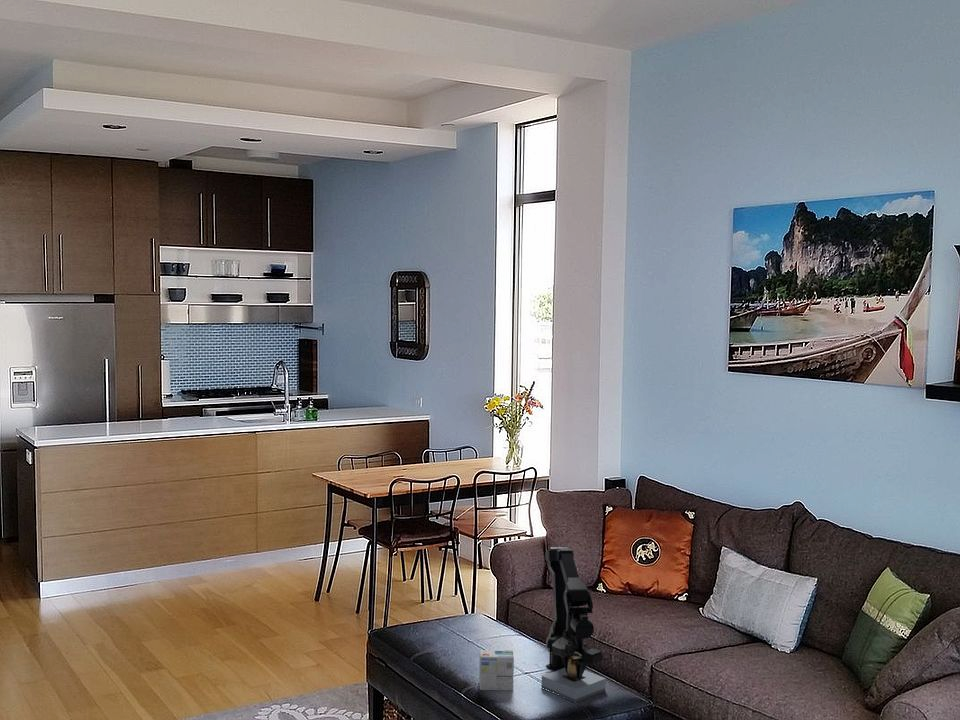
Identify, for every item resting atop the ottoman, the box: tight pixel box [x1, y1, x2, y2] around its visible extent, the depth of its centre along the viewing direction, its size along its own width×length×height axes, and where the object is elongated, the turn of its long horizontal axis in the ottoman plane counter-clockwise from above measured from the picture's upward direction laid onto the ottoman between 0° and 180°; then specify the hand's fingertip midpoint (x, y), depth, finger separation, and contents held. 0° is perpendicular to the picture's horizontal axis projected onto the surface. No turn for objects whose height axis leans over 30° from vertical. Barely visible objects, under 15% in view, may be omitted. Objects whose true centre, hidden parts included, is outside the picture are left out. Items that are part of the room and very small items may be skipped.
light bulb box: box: [478, 649, 515, 691], centre depth 321 cm, size 11×7×11 cm, turn 92°
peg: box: [567, 655, 580, 682], centre depth 320 cm, size 4×4×8 cm
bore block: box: [541, 668, 607, 703], centre depth 320 cm, size 14×14×4 cm
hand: (573, 676), depth 320 cm, fingers closed on peg, 4 cm apart
